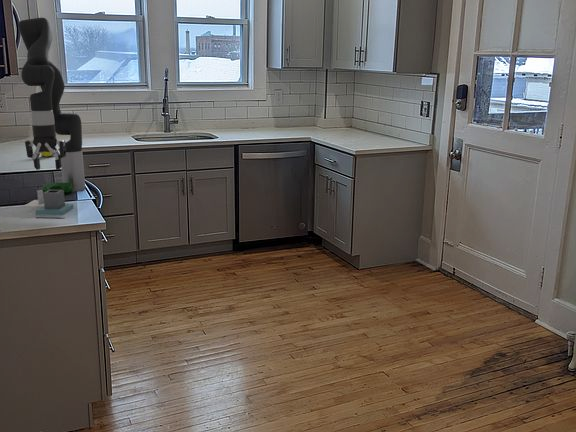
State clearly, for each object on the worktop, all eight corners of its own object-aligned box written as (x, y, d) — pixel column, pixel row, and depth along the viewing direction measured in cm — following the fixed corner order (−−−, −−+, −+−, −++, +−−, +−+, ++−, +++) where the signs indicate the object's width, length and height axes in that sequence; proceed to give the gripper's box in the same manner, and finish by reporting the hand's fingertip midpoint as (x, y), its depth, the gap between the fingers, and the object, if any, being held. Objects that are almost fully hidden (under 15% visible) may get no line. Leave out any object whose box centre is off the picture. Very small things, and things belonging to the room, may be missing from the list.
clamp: (49, 208, 248) (37, 191, 243) (51, 202, 253) (39, 184, 248) (75, 197, 248) (63, 180, 243) (77, 191, 253) (65, 173, 248)
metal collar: (51, 205, 224) (49, 189, 223) (65, 205, 224) (63, 189, 222) (44, 208, 219) (43, 193, 217) (59, 209, 219) (57, 193, 217)
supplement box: (50, 155, 349) (48, 136, 346) (56, 156, 345) (54, 137, 343) (40, 156, 345) (38, 137, 342) (46, 157, 341) (44, 138, 338)
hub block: (48, 211, 227) (46, 190, 225) (74, 211, 227) (72, 190, 225) (36, 218, 218) (33, 196, 216) (63, 218, 217) (61, 197, 215)
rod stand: (34, 203, 239) (33, 187, 237) (59, 203, 238) (57, 187, 237) (23, 209, 229) (21, 193, 228) (48, 210, 229) (46, 193, 227)
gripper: (67, 122, 214) (71, 167, 219) (28, 121, 215) (33, 167, 219) (58, 124, 207) (63, 171, 212) (18, 124, 208) (23, 171, 212)
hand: (48, 169), depth 215 cm, fingers open, 7 cm apart
